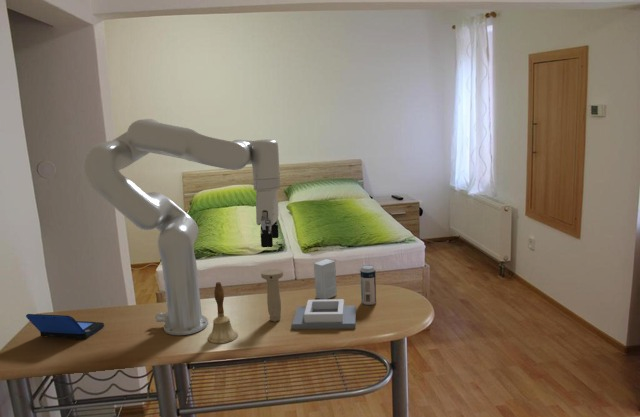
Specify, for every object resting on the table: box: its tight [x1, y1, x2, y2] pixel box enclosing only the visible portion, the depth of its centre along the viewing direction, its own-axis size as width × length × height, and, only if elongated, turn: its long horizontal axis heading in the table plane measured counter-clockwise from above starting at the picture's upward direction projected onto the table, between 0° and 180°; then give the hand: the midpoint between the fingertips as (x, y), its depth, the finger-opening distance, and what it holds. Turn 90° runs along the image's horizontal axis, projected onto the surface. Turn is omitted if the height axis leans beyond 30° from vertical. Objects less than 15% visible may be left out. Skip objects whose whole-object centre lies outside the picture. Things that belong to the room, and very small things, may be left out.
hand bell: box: [207, 281, 239, 344], centre depth 142 cm, size 8×8×16 cm
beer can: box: [359, 264, 377, 306], centre depth 161 cm, size 5×5×12 cm
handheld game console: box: [25, 313, 105, 340], centre depth 149 cm, size 16×13×9 cm
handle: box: [260, 268, 284, 323], centre depth 151 cm, size 5×6×15 cm
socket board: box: [291, 298, 357, 330], centre depth 151 cm, size 18×13×4 cm
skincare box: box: [313, 258, 338, 300], centre depth 168 cm, size 6×4×12 cm
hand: (270, 242), depth 148 cm, fingers open, 9 cm apart
